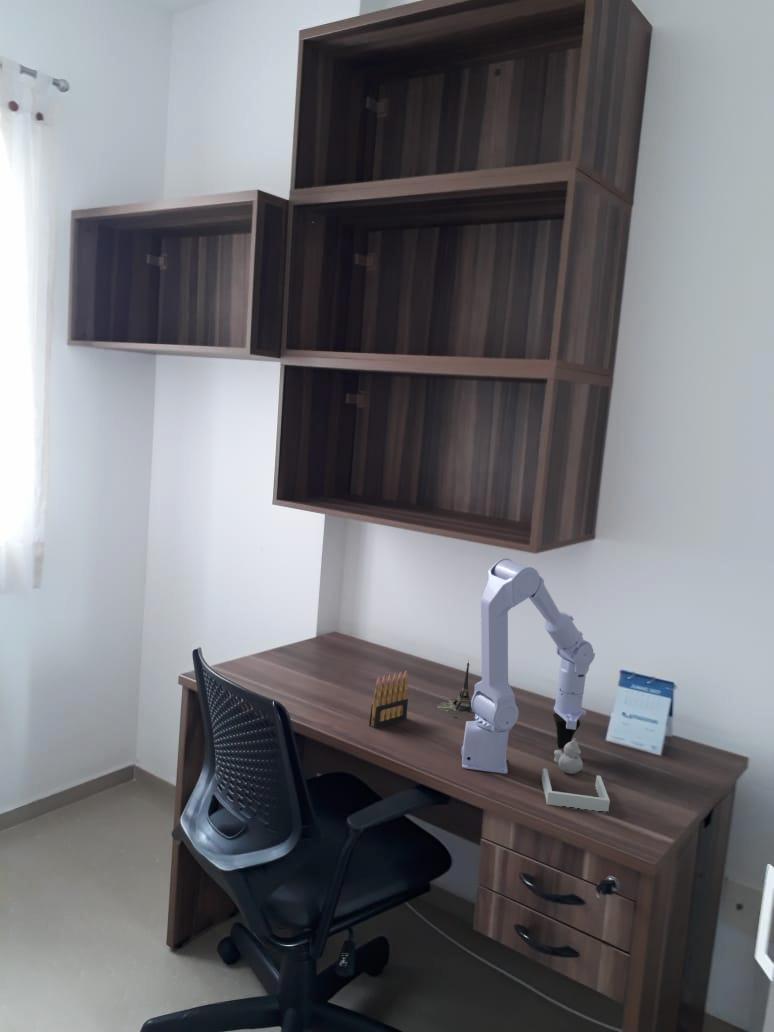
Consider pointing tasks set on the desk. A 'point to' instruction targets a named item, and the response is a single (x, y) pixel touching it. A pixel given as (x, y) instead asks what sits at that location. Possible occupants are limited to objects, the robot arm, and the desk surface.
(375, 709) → the ammunition clip
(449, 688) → the desk surface
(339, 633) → the desk surface
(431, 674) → the desk surface
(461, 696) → the eiffel tower figurine
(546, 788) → the bay
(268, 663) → the desk surface
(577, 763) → the rubber duck
